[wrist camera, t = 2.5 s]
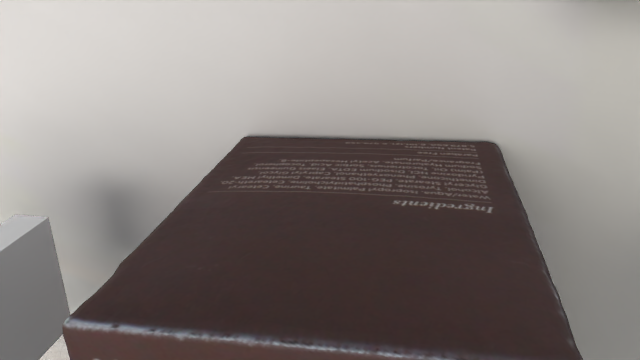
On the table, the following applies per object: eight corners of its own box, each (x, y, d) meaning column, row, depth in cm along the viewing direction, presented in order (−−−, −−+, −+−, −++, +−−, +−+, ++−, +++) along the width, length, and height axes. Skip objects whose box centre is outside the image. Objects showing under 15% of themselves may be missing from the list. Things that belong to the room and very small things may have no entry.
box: (242, 127, 13) (45, 311, 6) (504, 136, 12) (608, 367, 5) (257, 335, 15) (127, 633, 8) (478, 358, 14) (528, 716, 7)
